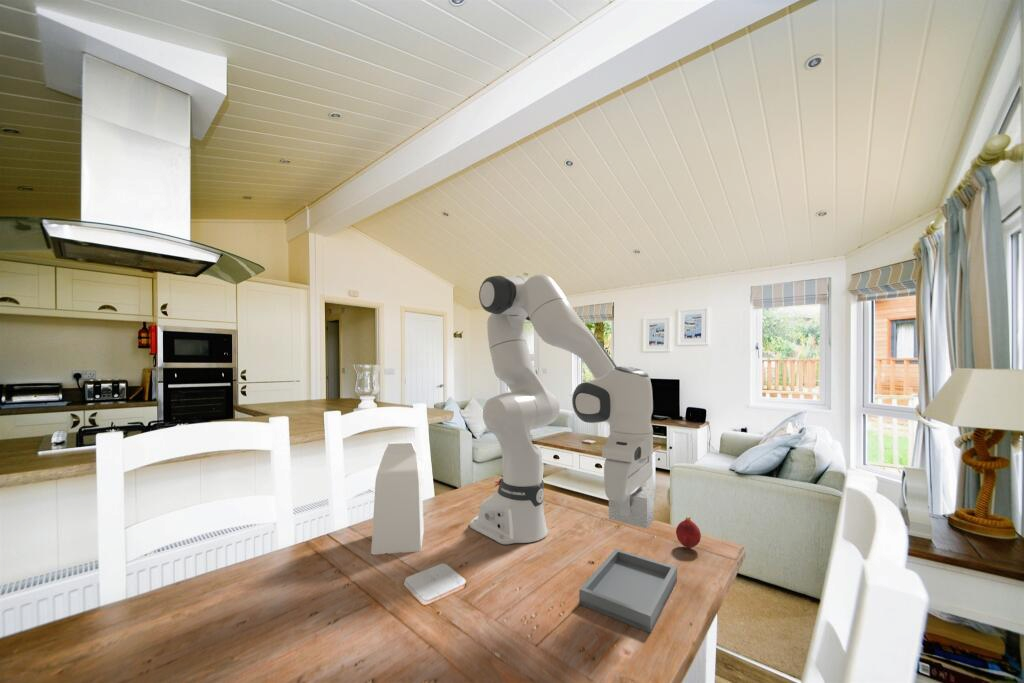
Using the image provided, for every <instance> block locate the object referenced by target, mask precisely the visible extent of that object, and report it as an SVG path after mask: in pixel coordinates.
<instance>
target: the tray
mask: <svg viewBox="0 0 1024 683" xmlns="http://www.w3.org/2000/svg"><path fill="white" fill-rule="evenodd" d="M677 582H678V568H677V566H674V565H672V564H667V563H664V562H661V561H658V560H654V559H651V558H648V557H644V556H641V555H638V554H634V553H632V552H628V551H624V550H622V549H618V548H615V549H614V550H613V551H612V552H611V553H610V554H609V555H608V557H607V558H606V559H604V561H603V562H602V563H601V564H599V567H597V569H596V570H595V571H594V572H593V573H592V574H591V575H590V577H589V578H588V579H586V581H585V582H584V583H583V584H582V586H581V587H580V588H579V589H578V590H579V592H578V593H579V594H578V595H579V596H578V599H579V600H578V605H580V606H581V607H584V608H587V609H590V610H592V611H594V612H596V613H599V614H602V615H604V616H607V617H610V618H612V619H614V620H616V621H619V622H622V623H623V624H627V625H629V626H630V627H634V628H637V629H639V630H642V631H644V632H647V633H649V634H651V633H652V631H653V630H654V627H655V626H656V624H657V622H658V620H659V617H660V615H661V613H662V612H663V609H664V608H665V607H666V603H667V602H668V600H669V597H670V596H671V593H672V591H673V589H674V588H675V586H676V584H677Z"/></svg>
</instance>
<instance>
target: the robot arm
mask: <svg viewBox="0 0 1024 683" xmlns="http://www.w3.org/2000/svg"><path fill="white" fill-rule="evenodd" d="M478 294H479V295H478V298H479V302H480V305H481V307H482V309H483V310H484V311H486V312H487V313H490V315H489V316H488V318H487V322H486V324H487V325H486V328H487V342H488V347H489V352H490V353H489V354H490V357H491V360H492V361H491V362H492V366H493V371H494V374H495V376H496V377H497V378H498V379H499V380H500V381H502V382H503V383H504V384H505V385H506V386H507V387H508V389H509V391H510V392H504V393H501V394H498V395H495V396H493V397H490V398H489V399H488V400H486V402H485V403H484V406H483V409H482V420H483V423H484V425H485V427H486V428H487V429H488V431H489V432H491V433H492V434H493V435H494V436H495V437H496V439H497V442H498V444H499V446H500V451H501V454H502V457H501V458H502V478H500V479H499V480H497V481H495V482H494V487H497V486H498V488H497V491H494V493H493V494H491V495H490V496H489V497H487V498H486V499H484V501H482V502H481V503H480V506H479V509H478V513H477V515H476V516H475V517H474V518H473V519H472V520H471V521H470V523H469V528H471V529H473V530H474V531H476V532H478V533H480V534H482V535H484V536H486V537H488V538H490V539H491V540H494V541H495V542H497V543H499V544H501V545H511V544H526V543H533V542H534V543H535V542H537V541H540V540H542V539H544V538H546V536H547V535H548V532H549V531H548V526H547V522H546V518H545V510H544V498H545V497H544V494H545V493H544V492H545V491H544V490H545V487H544V483H545V482H544V480H543V454H542V451H541V450H540V449H539V447H537V446H536V445H534V444H533V441H532V439H531V430H536V429H541V428H544V427H547V426H549V425H551V424H552V423H554V422H555V421H557V419H558V417H559V415H560V403H559V400H558V397H556V396H555V395H554V393H552V392H551V391H550V390H548V389H547V388H546V387H545V385H544V384H543V382H542V380H541V379H540V377H539V376H538V373H537V372H536V369H535V367H534V365H533V361H532V357H531V354H530V350H529V346H528V343H527V339H526V335H525V330H524V323H525V321H526V320H527V321H529V322H530V323H531V324H532V326H533V328H534V331H535V333H536V334H537V335H538V336H539V338H541V340H542V341H543V342H545V343H546V344H548V345H550V346H552V347H555V348H559V349H561V350H564V351H567V352H569V353H571V354H574V355H575V356H577V357H578V358H580V359H581V361H583V363H584V364H585V366H586V367H587V369H588V370H589V372H590V373H591V374H592V375H591V376H593V378H594V379H591V380H588V381H584V382H581V383H579V384H578V385H577V386H576V387H575V389H574V391H573V393H572V398H571V399H572V400H571V401H572V402H571V403H572V409H573V412H574V413H575V415H576V416H577V418H579V420H581V421H582V422H584V423H587V424H588V423H589V424H599V423H607V424H608V425H609V435H608V437H607V440H606V443H605V444H604V445H603V447H602V449H601V457H602V458H603V459H605V461H604V465H603V479H604V480H603V481H604V482H603V484H604V492H605V495H606V498H607V499H608V500H609V499H611V500H615V501H619V504H620V511H621V514H622V515H625V516H629V515H630V513H631V505H630V502H629V500H630V496H631V495H632V494H633V493H634V492H635V491H636V490H637V489H638V488H639V489H644V484H645V483H647V481H649V479H650V478H652V475H653V454H654V429H653V425H652V415H653V412H654V399H653V386H652V382H651V378H650V376H649V374H648V373H647V372H646V371H644V370H642V369H640V368H637V367H636V368H635V367H631V366H617V364H616V363H615V362H614V360H613V358H612V357H611V356H610V354H609V353H608V352H607V350H606V348H605V347H604V346H603V344H602V343H601V342H600V341H599V339H598V338H597V336H595V334H594V333H593V332H592V331H591V330H590V329H589V327H588V326H587V325H586V324H585V323H584V321H582V318H580V317H579V315H578V314H577V311H575V309H574V307H573V306H572V304H571V302H570V301H569V299H568V298H567V296H566V294H565V293H564V291H563V290H562V289H561V287H560V286H559V285H558V284H557V283H556V281H555V280H554V279H553V278H552V277H550V276H549V275H547V274H544V273H542V274H541V273H540V274H539V273H538V274H534V275H533V276H530V277H525V276H518V275H517V276H510V275H509V276H508V275H507V276H505V275H504V276H503V275H494V276H490V277H489V276H488V277H487V278H485V279H484V281H482V284H481V285H480V288H479V293H478Z"/></svg>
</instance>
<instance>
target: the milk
mask: <svg viewBox="0 0 1024 683" xmlns="http://www.w3.org/2000/svg"><path fill="white" fill-rule="evenodd" d="M418 455H419V454H418V453H417V450H416V448H415V446H414V444H413V441H401V442H400V441H397V442H389V443H388V444H387V446H386V448H385V450H384V453H383V455H382V457H381V461H380V463H379V467H378V469H377V473H376V477H375V482H374V483H375V484H374V486H375V487H374V500H373V516H372V530H371V532H372V534H371V536H372V537H371V551H370V555H371V554H373V555H383V554H384V555H386V554H385V553H388V554H400V553H399V552H402V553H415V552H416V553H417V552H422V546H423V539H424V533H425V532H424V531H425V529H424V528H425V526H424V524H425V522H424V503H423V502H424V500H423V498H424V497H423V475H422V474H423V473H422V472H423V471H422V463H421V461H420V458H419V456H418Z"/></svg>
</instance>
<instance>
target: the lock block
mask: <svg viewBox="0 0 1024 683" xmlns="http://www.w3.org/2000/svg"><path fill="white" fill-rule="evenodd" d="M629 502H630V505H631V513H630V515H629V516H625V515H622V514H621V511H620V504H619V501H615V500H611V499H608V520H612V521H615V522H620V523H624V524H627V525H630V526H631V525H632V526H635V527H638V528H643V529H648V528H649V527H650V526H651V524H653V522H654V521H655V491H653V490H649V489H644V488H643V489H639V488H638V489H637V490H636V491H635V492H634V493H633V494H632V495H631V496H630V500H629Z"/></svg>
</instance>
